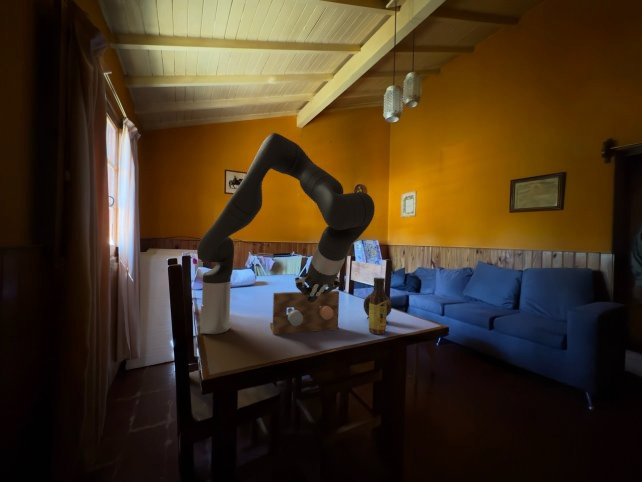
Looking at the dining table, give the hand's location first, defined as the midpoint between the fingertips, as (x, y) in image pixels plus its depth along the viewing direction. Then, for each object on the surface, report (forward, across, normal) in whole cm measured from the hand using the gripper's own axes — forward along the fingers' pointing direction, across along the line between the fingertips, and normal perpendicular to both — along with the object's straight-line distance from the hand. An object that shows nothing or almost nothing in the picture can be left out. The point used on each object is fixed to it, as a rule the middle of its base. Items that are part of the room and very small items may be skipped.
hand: (310, 299), depth 78 cm
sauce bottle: (+19, -30, +3) cm, 35 cm away
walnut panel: (+27, -5, -4) cm, 27 cm away
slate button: (+18, +1, -3) cm, 18 cm away
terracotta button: (+20, -11, -5) cm, 24 cm away
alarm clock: (+27, -36, -4) cm, 45 cm away
